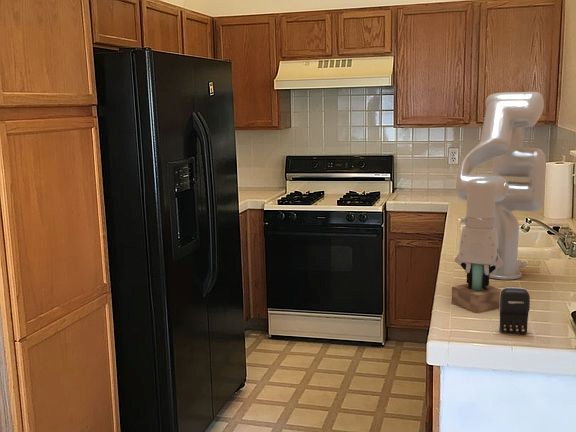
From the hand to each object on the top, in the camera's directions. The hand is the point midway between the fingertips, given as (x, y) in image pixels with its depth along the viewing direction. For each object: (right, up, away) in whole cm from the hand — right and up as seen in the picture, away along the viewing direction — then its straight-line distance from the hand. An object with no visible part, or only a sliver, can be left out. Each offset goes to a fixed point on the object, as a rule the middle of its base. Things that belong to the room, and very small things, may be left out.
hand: (477, 286), depth 179 cm
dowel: (0, -3, +1) cm, 3 cm away
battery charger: (+3, -10, -21) cm, 23 cm away
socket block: (0, -6, +1) cm, 6 cm away
